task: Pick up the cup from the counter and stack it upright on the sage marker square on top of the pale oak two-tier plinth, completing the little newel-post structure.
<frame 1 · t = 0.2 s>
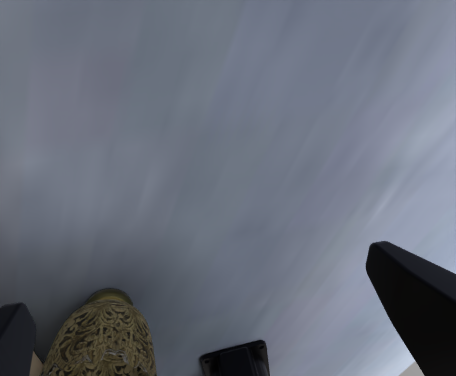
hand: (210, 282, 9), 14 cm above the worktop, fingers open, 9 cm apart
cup: (110, 299, 28), on the worktop
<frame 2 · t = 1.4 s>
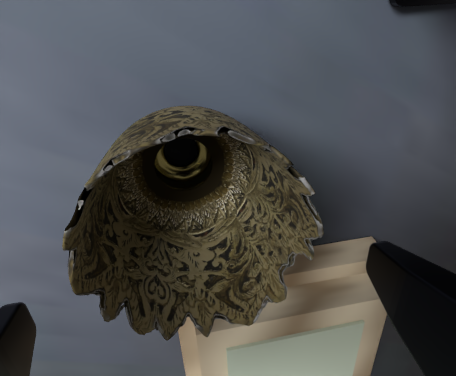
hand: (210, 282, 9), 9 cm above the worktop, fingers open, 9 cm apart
oak plinth: (273, 322, 24), on the worktop
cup: (180, 149, 17), on the worktop
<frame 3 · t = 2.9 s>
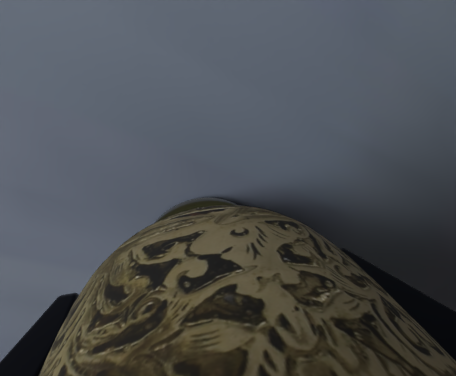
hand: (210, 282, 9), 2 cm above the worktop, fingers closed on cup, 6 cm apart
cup: (201, 235, 11), on the worktop, touching gripper
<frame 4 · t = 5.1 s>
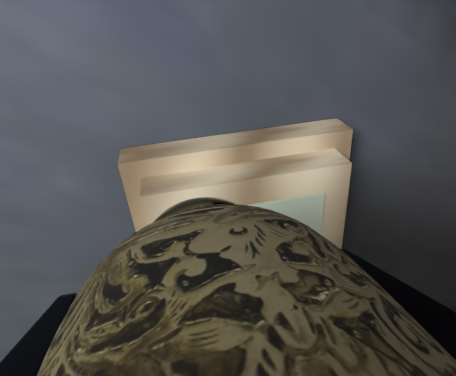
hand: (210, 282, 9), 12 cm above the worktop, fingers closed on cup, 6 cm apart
oak plinth: (239, 221, 23), on the worktop
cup: (200, 234, 11), point 10 cm above the worktop, touching gripper
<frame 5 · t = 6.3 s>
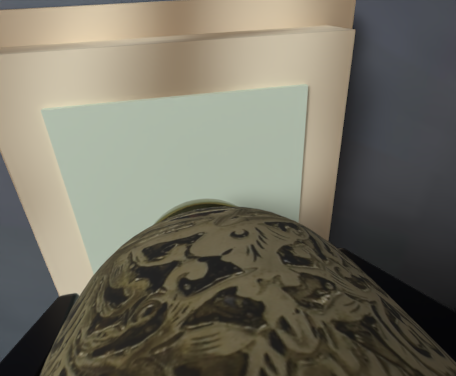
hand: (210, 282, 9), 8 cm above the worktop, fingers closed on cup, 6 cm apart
oak plinth: (184, 160, 16), on the worktop
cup: (200, 236, 11), point 6 cm above the worktop, touching gripper
when the fingers open (7 cm above the worktop, at t = 7.3 s): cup drops 1 cm, resting on oak plinth.
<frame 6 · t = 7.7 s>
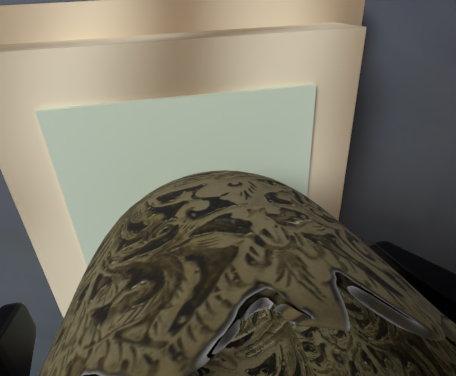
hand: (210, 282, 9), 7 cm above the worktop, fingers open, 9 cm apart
oak plinth: (186, 162, 15), on the worktop
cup: (202, 209, 12), point 4 cm above the worktop, touching oak plinth
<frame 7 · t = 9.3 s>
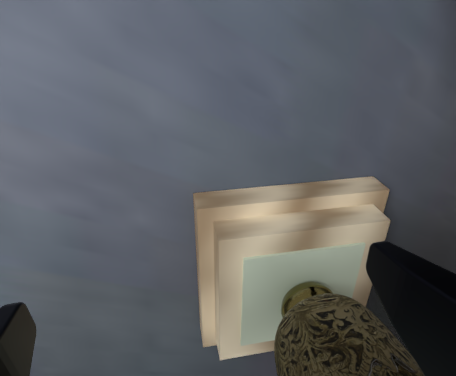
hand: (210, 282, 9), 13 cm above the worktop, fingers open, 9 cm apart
oak plinth: (279, 257, 27), on the worktop
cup: (302, 294, 23), point 4 cm above the worktop, touching oak plinth
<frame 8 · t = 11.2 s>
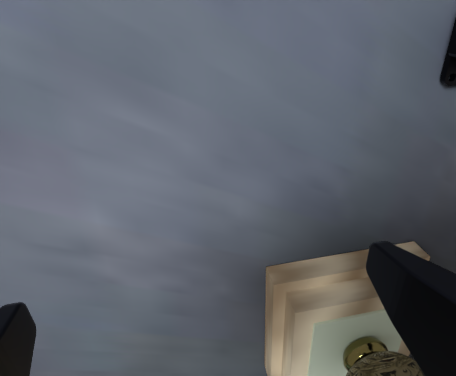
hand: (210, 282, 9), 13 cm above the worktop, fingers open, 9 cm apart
oak plinth: (333, 308, 31), on the worktop
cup: (358, 345, 28), point 4 cm above the worktop, touching oak plinth
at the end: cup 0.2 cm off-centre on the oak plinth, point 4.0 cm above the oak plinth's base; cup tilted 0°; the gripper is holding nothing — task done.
